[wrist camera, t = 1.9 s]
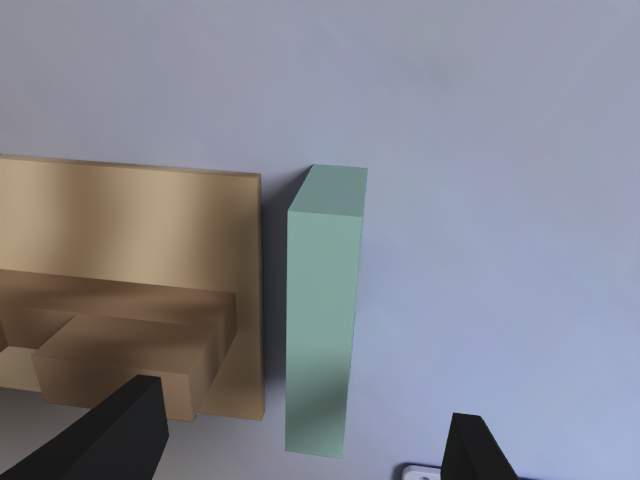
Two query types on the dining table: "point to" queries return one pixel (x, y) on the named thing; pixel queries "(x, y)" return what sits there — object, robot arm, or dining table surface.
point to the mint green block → (322, 306)
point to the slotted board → (132, 283)
